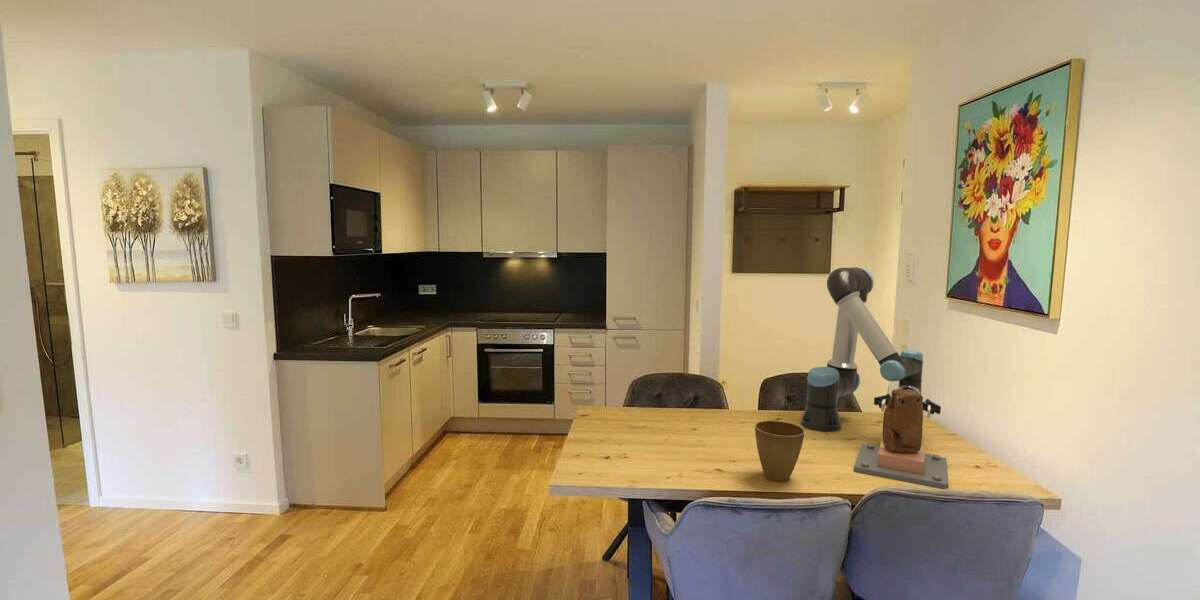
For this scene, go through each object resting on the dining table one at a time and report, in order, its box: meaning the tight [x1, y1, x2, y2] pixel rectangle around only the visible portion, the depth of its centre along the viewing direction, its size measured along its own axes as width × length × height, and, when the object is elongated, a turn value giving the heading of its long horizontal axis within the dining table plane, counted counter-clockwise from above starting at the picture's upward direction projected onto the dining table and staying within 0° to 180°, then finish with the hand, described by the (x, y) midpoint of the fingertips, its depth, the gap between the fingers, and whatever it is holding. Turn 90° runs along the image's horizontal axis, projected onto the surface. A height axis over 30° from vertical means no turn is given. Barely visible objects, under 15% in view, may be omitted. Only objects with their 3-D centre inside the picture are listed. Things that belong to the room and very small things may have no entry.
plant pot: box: [754, 420, 806, 483], centre depth 174 cm, size 15×15×16 cm
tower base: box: [853, 439, 950, 489], centre depth 184 cm, size 26×26×6 cm
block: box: [882, 388, 924, 453], centre depth 183 cm, size 11×8×20 cm
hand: (905, 410), depth 186 cm, fingers open, 13 cm apart
